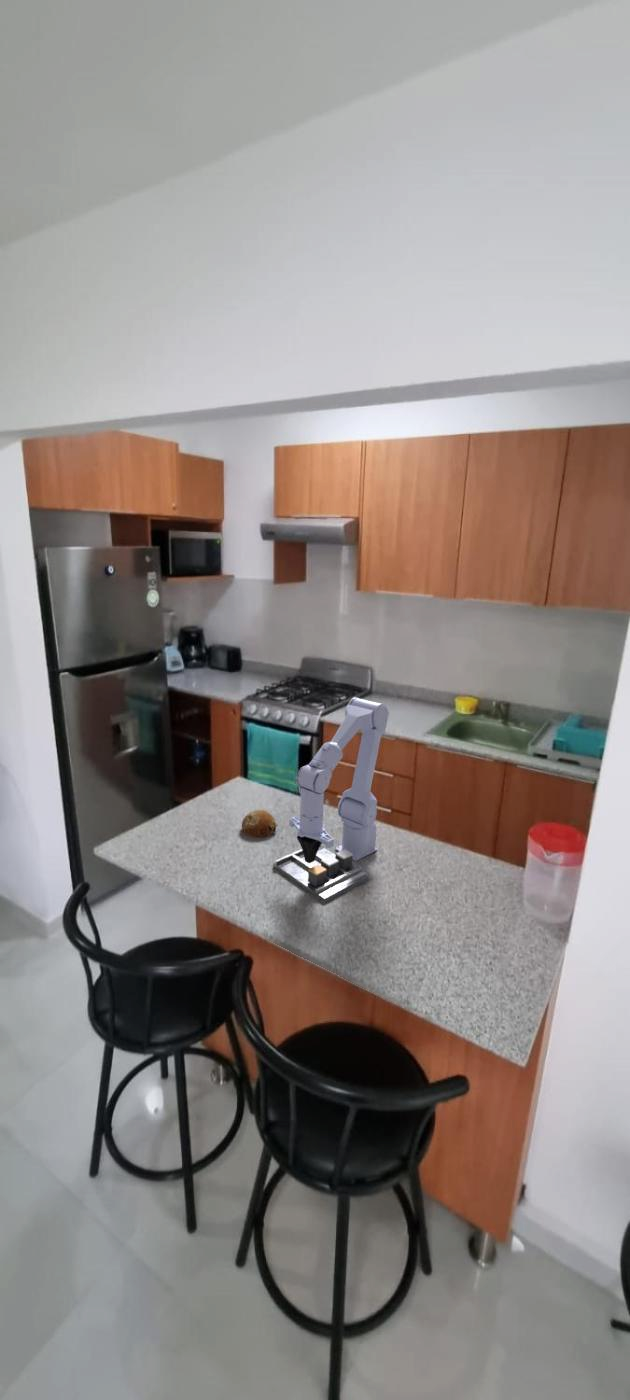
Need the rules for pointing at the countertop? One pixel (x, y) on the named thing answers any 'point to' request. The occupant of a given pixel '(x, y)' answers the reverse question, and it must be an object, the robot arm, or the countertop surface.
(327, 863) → the block
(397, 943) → the countertop surface
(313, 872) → the block
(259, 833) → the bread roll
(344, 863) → the block
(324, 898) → the panel
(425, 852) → the countertop surface
